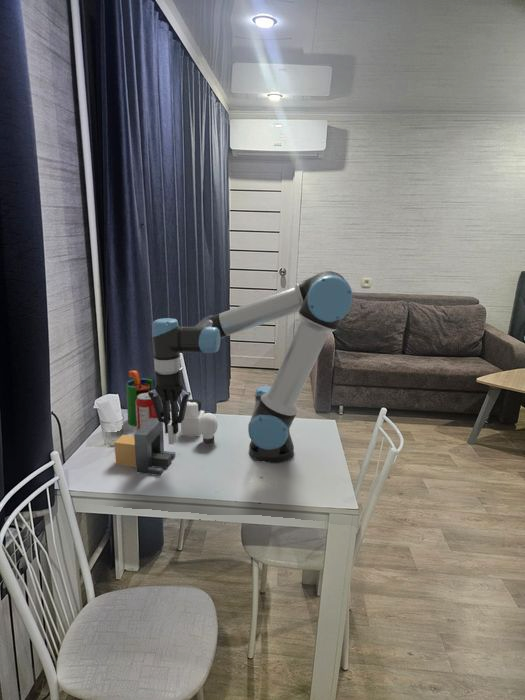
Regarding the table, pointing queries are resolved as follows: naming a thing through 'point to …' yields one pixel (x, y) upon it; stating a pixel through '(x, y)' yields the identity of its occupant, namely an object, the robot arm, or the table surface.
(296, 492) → the table surface
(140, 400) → the soda can
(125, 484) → the table surface
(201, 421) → the light bulb
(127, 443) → the plug
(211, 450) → the table surface
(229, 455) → the table surface
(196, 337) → the robot arm
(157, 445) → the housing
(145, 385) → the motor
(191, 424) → the medicine bottle
